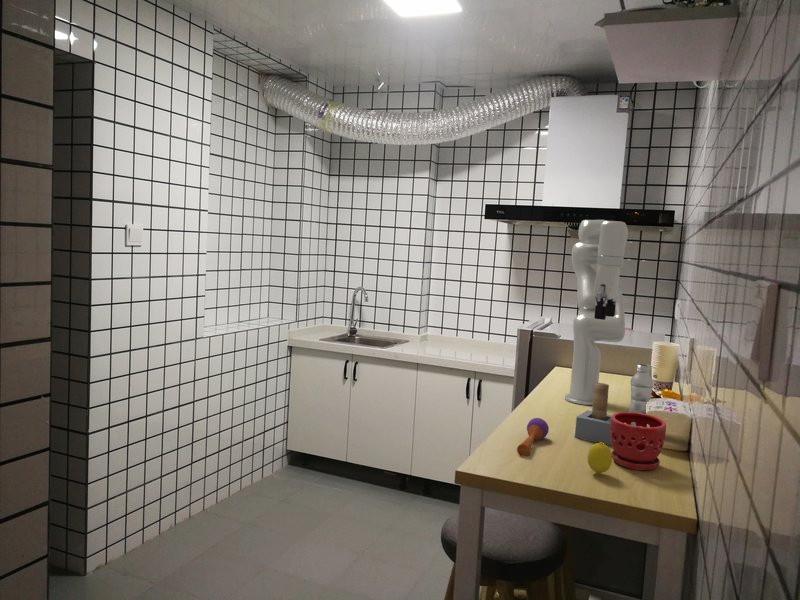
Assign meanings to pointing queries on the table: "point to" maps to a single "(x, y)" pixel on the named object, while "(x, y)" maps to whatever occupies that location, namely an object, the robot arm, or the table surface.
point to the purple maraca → (533, 435)
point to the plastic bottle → (640, 390)
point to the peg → (600, 401)
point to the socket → (593, 428)
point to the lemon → (599, 458)
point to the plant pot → (637, 440)
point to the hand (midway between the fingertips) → (604, 317)
